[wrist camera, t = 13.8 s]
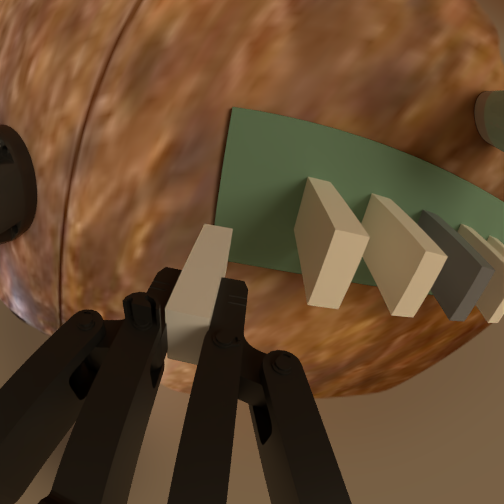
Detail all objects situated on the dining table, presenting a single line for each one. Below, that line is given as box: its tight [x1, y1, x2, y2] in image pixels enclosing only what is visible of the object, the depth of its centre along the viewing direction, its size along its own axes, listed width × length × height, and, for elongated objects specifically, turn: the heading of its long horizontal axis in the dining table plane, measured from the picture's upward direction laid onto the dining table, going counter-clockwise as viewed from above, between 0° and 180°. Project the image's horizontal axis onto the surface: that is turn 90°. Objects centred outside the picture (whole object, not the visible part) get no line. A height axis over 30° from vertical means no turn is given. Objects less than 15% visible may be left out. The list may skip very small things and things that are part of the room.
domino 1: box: [294, 177, 370, 309], centre depth 19 cm, size 2×5×10 cm, turn 170°
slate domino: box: [417, 210, 495, 321], centre depth 20 cm, size 2×5×10 cm, turn 170°
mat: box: [214, 107, 504, 295], centre depth 24 cm, size 40×14×1 cm, turn 80°
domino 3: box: [458, 224, 504, 323], centre depth 20 cm, size 2×5×10 cm, turn 170°
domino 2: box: [361, 193, 448, 317], centre depth 19 cm, size 2×5×10 cm, turn 170°
